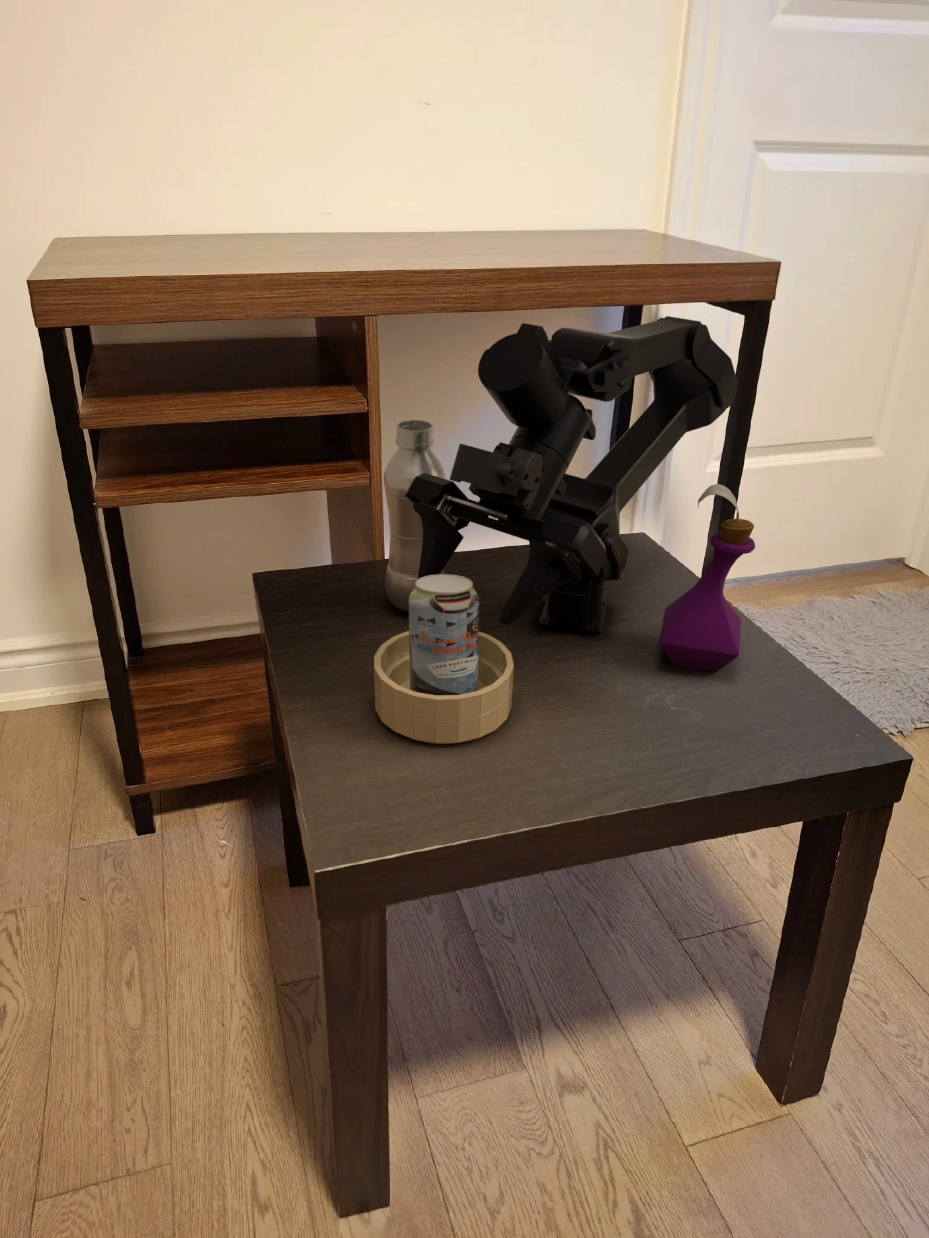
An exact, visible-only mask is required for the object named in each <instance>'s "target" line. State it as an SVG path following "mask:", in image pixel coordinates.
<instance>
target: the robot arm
mask: <svg viewBox="0 0 929 1238" xmlns="http://www.w3.org/2000/svg"><path fill="white" fill-rule="evenodd" d="M646 373H648V374H649V377H650V380H651V381H652V389H653V400H652V401H651V403H650V404H649V405H648V407H647V408H646V409H645V410H644V411H643V412H642V413H641V415H640V416H639V417H638V418H637V419H636V420H635V421H634V422H633V423H632V425H630V427H629V428H628V429H627V430H626V431H625V432H624V434H623V435H622V436H621V437H620V438H619V439H618V441H617V442H615V444H614V445H613V446H612V447H611V449H609V450H608V452H607V453H606V454H605V456H604V457H603V458H602V459H601V460H600V461H599V462H598V463H597V465H596V466H595V467H594V468H593V469H592V470H591V472H589V473H588V475H587V476H586V477H584V478H583V477H580V476H575V475H572V474H569V473H567V470H568V469H569V467H570V465H571V463H572V461H573V459H574V457H575V455H576V452H577V451H578V449H579V447H580V445H581V443H582V441H583V439H584V440H589V441H594V440H595V439H596V437H597V435H596V432H597V428H596V425H595V423H594V420H593V410H592V409H590V408H586V407H585V405H584V404H583V402H582V401H581V400H580V399H579V398H578V397H582V398H587V399H591V400H593V401H594V400H595V401H599V402H603V403H609V402H612V401H614V400H615V399H617V398H618V397H619V396H621V395H623V394H624V393H626V392H627V391H629V390H630V389H631V387H632V380H633V378H635V377H637V376H639V375H642V374H646ZM477 375H478V378H479V381H480V384H482V386H483V387H484V388H485V390H486V391H487V392H488V394H489V396H490V397H491V398H492V400H493V401H494V402H495V404H496V405H497V406H498V408H499V409H500V411H501V413H502V414H503V415H504V416H505V418H506V419H507V420H508V421H509V422H510V423H511V424H513V425H514V426H516V429H515V431H514V433H513V435H512V437H511V439H510V441H509V442H508V443H505V442H501V441H500V442H499V443H498V444H497V445H496V446H495V447H494V448H493V451H490V450H486V449H482V448H478V447H475V446H471V445H468V444H465V443H459V445H458V448H457V452H456V454H455V459H454V462H453V465H452V469H451V472H450V476H449V479H447V478H446V479H443V478H440V477H437V476H433V475H430V474H427V473H423V474H421V475H418V476H416V477H415V478H414V479H413V481H412V483H411V485H410V486H409V488H408V490H407V492H406V494H405V496H406V497H407V498H408V499H409V500H410V501H411V502H412V503H413V509H414V510H415V511H416V512H417V513H418V514H419V515H420V517H421V521H422V525H423V543H422V552H421V558H420V565H419V572H418V579H420V578H422V577H425V576H429V575H437V574H440V573H441V571H442V570H443V571H444V568H445V567H446V565H447V564H448V562H449V561H450V559H451V558H452V556H453V555H454V553H455V551H456V550H457V549H458V547H459V546H460V544H461V543H462V541H463V540H464V538H465V537H464V535H463V534H462V533H461V532H460V530H462V529H465V528H466V527H468V526H469V524H470V523H472V524H476V525H479V526H482V527H485V528H489V529H491V530H494V531H498V532H500V533H503V534H507V535H509V536H512V537H516V538H519V539H521V540H525V541H527V542H528V543H529V555H528V560H527V564H526V566H525V567H524V569H523V572H522V573H521V575H520V577H519V578H518V581H517V582H516V584H515V586H514V588H513V590H512V592H511V593H510V596H509V597H508V599H507V602H506V603H505V605H504V607H503V610H502V612H501V615H500V618H499V622H500V624H502V625H503V626H505V627H508V626H510V625H511V624H512V623H513V622H514V621H516V620H517V619H519V618H520V617H521V616H522V615H524V613H526V612H527V611H529V610H530V609H531V608H532V607H533V606H535V605H536V604H537V603H539V602H540V601H541V600H542V599H545V597H547V598H546V601H545V604H544V605H543V606H544V607H543V610H542V612H541V615H540V618H539V620H538V626H539V627H541V628H547V629H548V628H549V629H555V630H562V631H569V632H576V633H583V634H591V635H600V634H602V631H603V627H604V621H605V618H606V615H607V609H608V604H607V603H606V602H603V597H604V589H605V583H606V582H608V581H618V580H620V579H621V574H622V572H623V571H624V570H625V568H626V565H627V563H628V557H629V554H630V549H629V547H628V546H627V545H626V543H625V541H624V540H623V539H622V538H621V531H620V529H621V528H620V527H621V526H620V525H621V524H620V522H621V521H620V518H621V517H620V515H621V513H622V510H623V509H624V508H625V507H626V506H627V504H628V503H629V502H630V501H631V500H632V498H633V497H634V496H635V495H636V493H637V492H638V491H639V490H640V489H641V487H642V486H643V485H644V484H645V483H646V481H647V480H648V479H649V478H650V477H651V475H653V473H654V472H655V471H656V469H657V468H658V467H659V465H661V463H662V462H663V461H664V460H665V458H667V456H668V455H669V453H671V451H672V450H673V449H674V447H675V446H676V445H678V443H679V441H681V439H682V438H683V437H684V436H685V434H686V433H688V432H692V431H695V430H699V429H702V428H705V427H708V426H711V425H712V424H713V423H714V422H716V420H717V419H719V418H720V417H721V416H722V415H723V414H724V413H725V412H726V410H727V409H729V408H730V407H731V406H732V405H733V403H734V400H735V398H736V396H737V391H738V378H737V375H736V372H735V368H734V365H733V361H732V358H731V357H730V356H729V355H728V353H726V352H725V351H724V350H723V349H722V348H721V347H720V346H719V345H718V344H717V343H716V342H715V341H714V340H713V339H712V337H711V334H710V331H709V328H708V326H707V324H703V323H702V322H701V320H695V319H689V318H684V317H683V318H681V317H677V316H670V315H666V316H664V317H659V318H658V319H657V320H656V321H655V320H654V321H651V322H647V323H643V324H639V325H635V326H631V327H627V328H622V329H619V330H618V329H617V330H615V331H611V332H603V331H596V330H591V329H590V330H589V329H584V328H583V329H581V328H573V327H561V328H559V329H557V330H556V331H555V332H554V333H553V334H552V335H551V338H550V339H549V336H548V334H547V332H546V331H545V329H544V327H543V326H542V325H538V324H532V323H527V322H522V323H521V324H520V326H519V328H518V330H517V332H515V333H511V334H508V335H506V336H504V337H502V338H500V339H498V340H497V341H496V342H495V343H493V344H492V345H491V346H490V347H489V348H486V349H485V350H484V352H483V353H482V355H481V357H480V359H479V362H478V368H477ZM462 482H464V483H468V484H470V485H469V486H468V488H467V489H468V490H469V492H470V493H471V494H473V496H476V497H478V498H479V500H478V501H476V500H473V499H470V498H468V496H467V495H466V494H465V493H464V491H462V490H461V488H460V487H459V486H458V485H457V484H456V483H462ZM418 579H417V580H418Z"/></svg>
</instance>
